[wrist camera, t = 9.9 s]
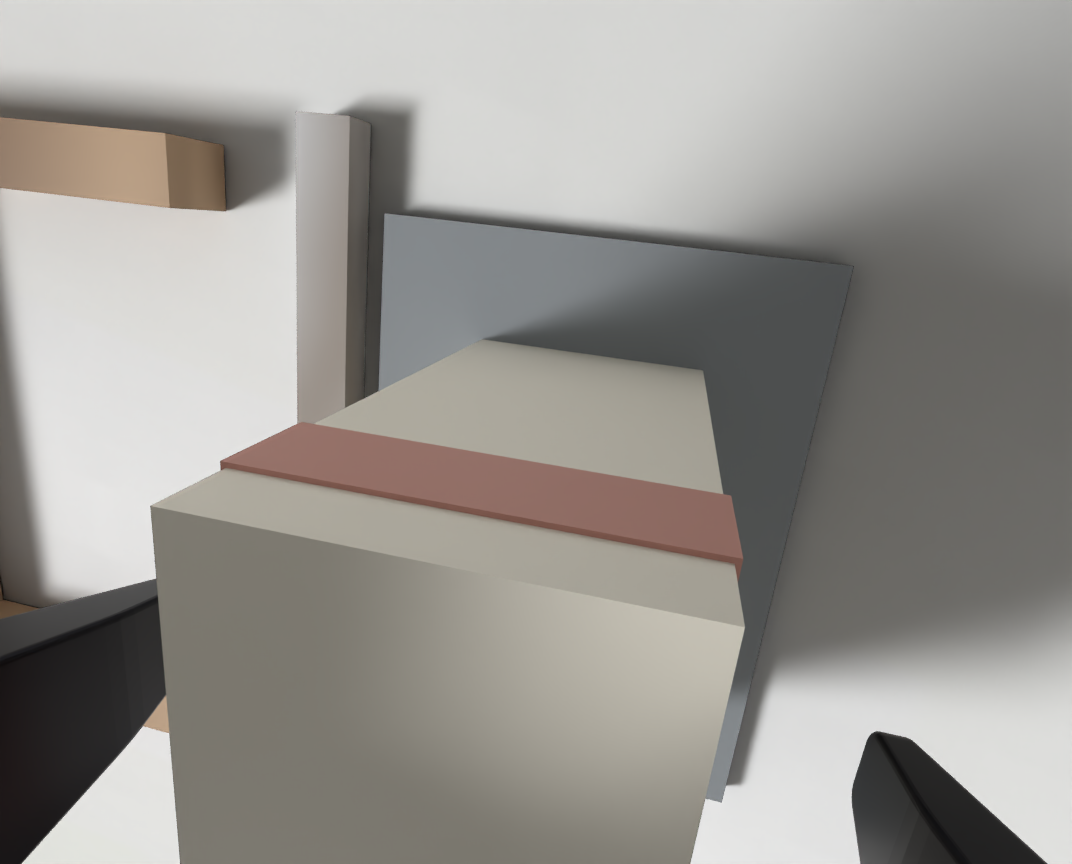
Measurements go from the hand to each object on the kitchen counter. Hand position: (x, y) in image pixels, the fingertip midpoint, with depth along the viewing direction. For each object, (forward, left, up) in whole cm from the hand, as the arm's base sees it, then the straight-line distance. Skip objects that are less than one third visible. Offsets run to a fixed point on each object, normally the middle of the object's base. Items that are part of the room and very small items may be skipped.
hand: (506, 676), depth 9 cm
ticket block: (0, 0, -4) cm, 4 cm away
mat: (0, 0, -5) cm, 5 cm away
